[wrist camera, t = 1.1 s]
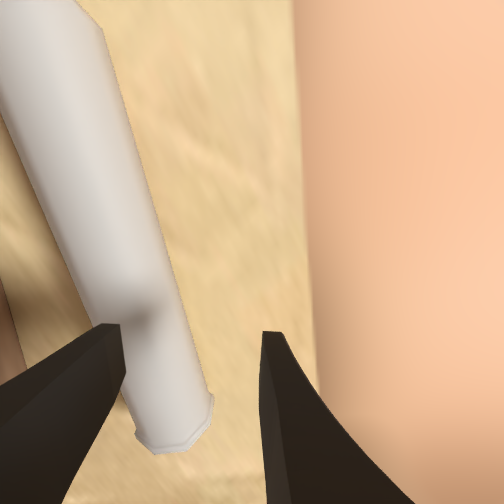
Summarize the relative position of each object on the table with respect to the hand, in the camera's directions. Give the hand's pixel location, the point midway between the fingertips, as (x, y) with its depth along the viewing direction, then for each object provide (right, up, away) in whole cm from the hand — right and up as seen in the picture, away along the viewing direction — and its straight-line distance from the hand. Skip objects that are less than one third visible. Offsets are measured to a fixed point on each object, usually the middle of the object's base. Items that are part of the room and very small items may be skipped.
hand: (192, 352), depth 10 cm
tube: (-5, +4, +9) cm, 11 cm away
